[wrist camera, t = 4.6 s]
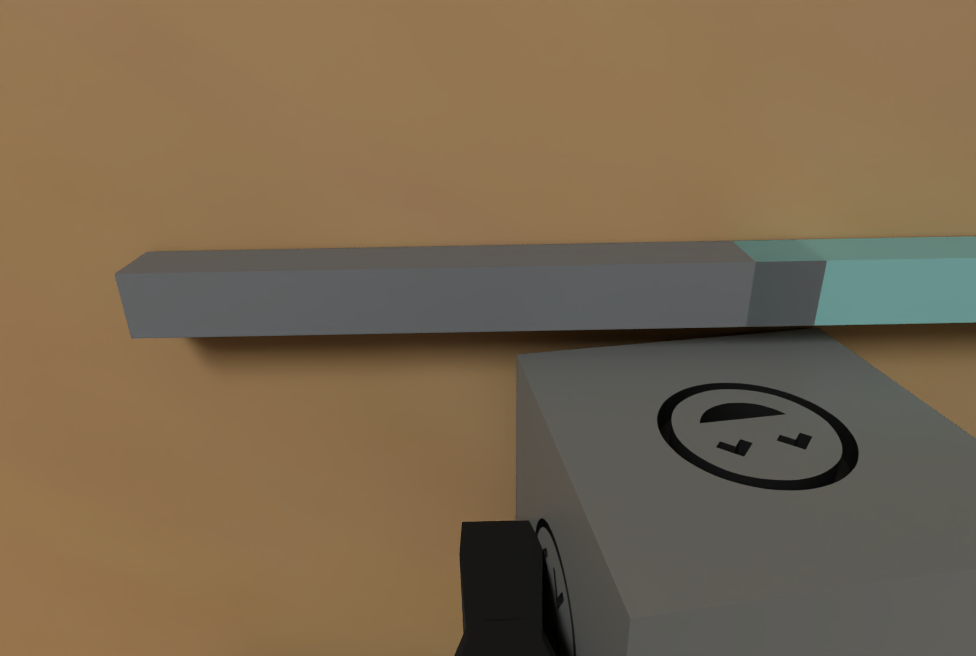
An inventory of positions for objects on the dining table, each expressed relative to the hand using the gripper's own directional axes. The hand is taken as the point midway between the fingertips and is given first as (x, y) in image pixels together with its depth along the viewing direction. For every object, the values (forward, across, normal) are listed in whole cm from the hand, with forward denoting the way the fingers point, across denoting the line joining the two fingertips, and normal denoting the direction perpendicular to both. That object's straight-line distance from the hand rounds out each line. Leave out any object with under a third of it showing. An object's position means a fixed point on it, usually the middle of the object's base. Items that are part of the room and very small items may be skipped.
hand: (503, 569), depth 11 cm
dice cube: (+2, -3, -1) cm, 3 cm away
